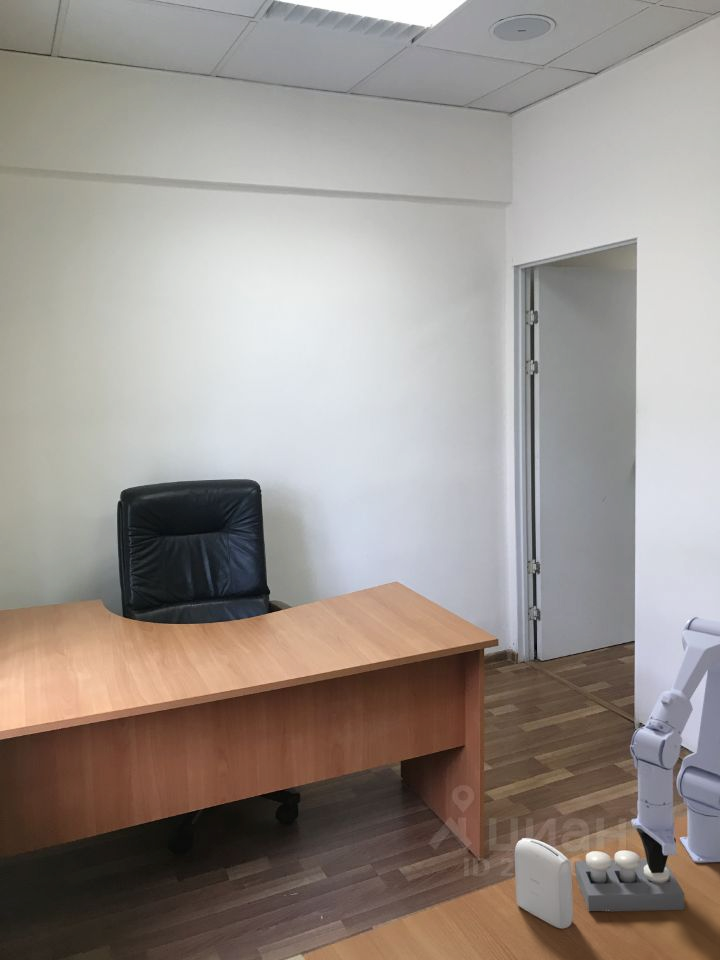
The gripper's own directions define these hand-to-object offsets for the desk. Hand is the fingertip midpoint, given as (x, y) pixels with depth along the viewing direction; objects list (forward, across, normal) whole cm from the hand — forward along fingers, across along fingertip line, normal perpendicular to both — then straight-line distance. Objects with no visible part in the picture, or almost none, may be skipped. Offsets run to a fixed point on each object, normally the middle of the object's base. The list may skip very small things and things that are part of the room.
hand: (656, 871), depth 142 cm
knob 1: (+1, 0, -10) cm, 10 cm away
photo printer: (+4, +5, -20) cm, 22 cm away
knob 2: (+4, 0, 0) cm, 4 cm away
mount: (+4, 0, -5) cm, 6 cm away
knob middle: (+1, 0, -5) cm, 5 cm away
